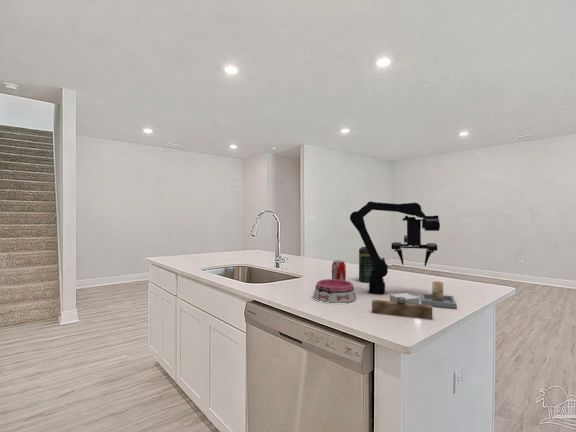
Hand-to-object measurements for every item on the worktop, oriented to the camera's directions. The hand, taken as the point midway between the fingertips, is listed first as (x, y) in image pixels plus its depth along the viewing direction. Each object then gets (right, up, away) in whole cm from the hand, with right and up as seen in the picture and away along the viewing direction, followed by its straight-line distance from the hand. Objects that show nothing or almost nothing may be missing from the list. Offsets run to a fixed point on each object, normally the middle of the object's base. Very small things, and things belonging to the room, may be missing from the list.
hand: (413, 265), depth 137 cm
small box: (-12, -14, -20) cm, 27 cm away
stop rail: (-16, -13, -27) cm, 34 cm away
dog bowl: (-36, -14, -4) cm, 39 cm away
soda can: (-30, -13, +21) cm, 39 cm away
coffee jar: (-14, -13, +30) cm, 35 cm away
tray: (+4, -13, -14) cm, 19 cm away
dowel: (+4, -13, -14) cm, 19 cm away
